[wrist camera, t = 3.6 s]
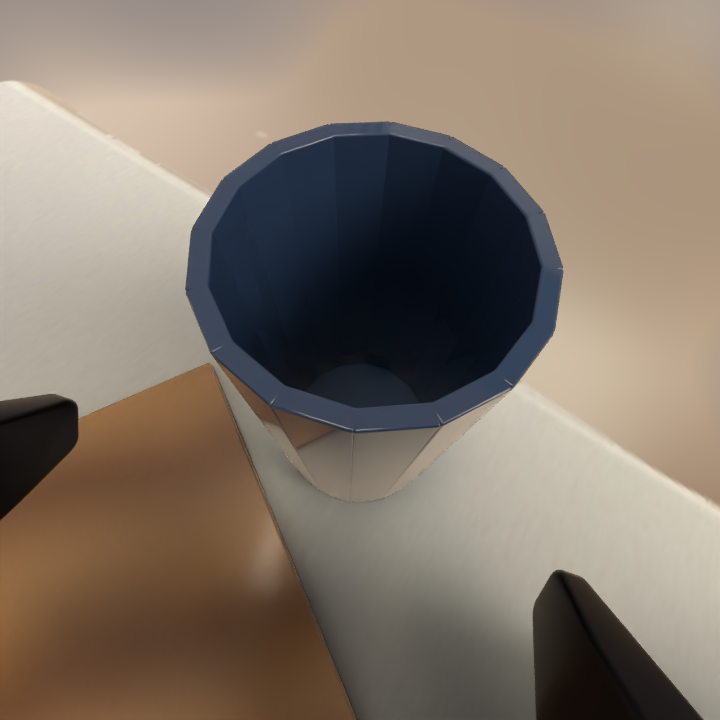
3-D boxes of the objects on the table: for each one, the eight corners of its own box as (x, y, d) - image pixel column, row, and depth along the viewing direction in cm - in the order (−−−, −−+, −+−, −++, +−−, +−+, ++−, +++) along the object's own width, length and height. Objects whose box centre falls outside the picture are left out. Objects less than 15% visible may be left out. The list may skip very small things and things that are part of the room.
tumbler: (456, 459, 19) (642, 321, 7) (325, 530, 17) (275, 514, 6) (386, 342, 21) (436, 87, 9) (266, 398, 20) (140, 184, 8)
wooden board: (419, 872, 13) (422, 886, 13) (-48, 1233, 11) (-70, 1272, 10) (212, 366, 20) (209, 361, 20) (-105, 504, 17) (-119, 503, 17)
